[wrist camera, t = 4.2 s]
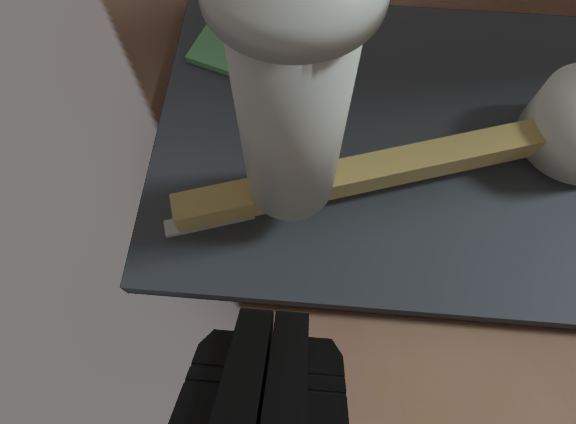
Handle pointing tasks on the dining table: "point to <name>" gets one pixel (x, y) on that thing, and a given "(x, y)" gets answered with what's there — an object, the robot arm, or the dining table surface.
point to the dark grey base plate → (384, 202)
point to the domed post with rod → (341, 116)
